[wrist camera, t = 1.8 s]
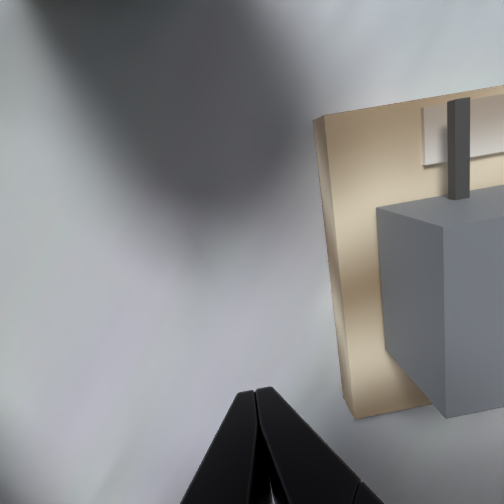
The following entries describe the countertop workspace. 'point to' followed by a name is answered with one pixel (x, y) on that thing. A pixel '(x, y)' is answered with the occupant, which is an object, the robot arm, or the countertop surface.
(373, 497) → the robot arm
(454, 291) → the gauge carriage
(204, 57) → the countertop surface
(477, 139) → the bench
